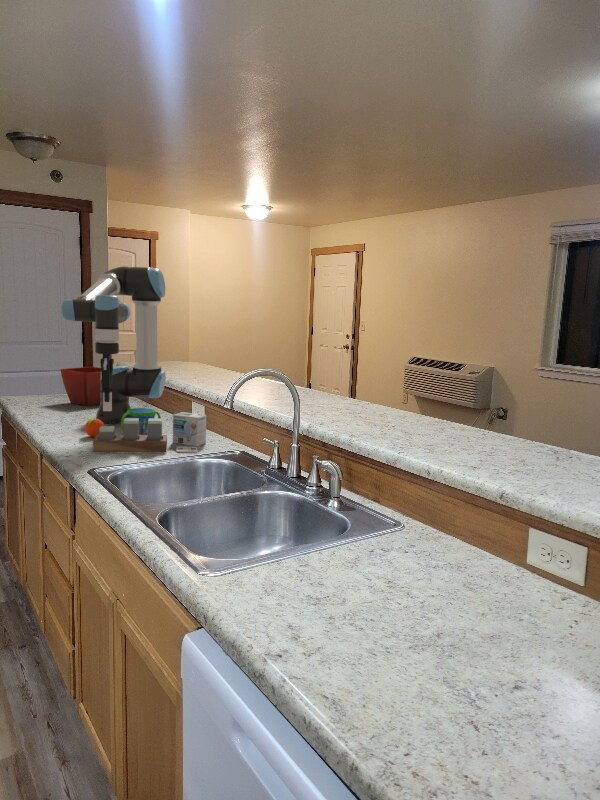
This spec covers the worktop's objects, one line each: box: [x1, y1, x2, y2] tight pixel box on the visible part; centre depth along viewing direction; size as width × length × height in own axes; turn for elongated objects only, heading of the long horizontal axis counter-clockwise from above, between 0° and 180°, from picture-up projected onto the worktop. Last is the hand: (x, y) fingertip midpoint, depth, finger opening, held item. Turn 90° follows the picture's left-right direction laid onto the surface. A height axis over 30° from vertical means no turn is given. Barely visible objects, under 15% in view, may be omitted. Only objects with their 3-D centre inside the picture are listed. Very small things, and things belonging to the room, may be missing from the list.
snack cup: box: [120, 407, 162, 435], centre depth 228 cm, size 16×10×10 cm
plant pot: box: [60, 366, 101, 406], centre depth 294 cm, size 19×19×17 cm
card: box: [176, 446, 198, 454], centre depth 210 cm, size 6×7×1 cm
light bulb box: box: [172, 411, 207, 447], centre depth 221 cm, size 11×7×11 cm, turn 70°
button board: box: [92, 434, 168, 453], centre depth 208 cm, size 10×24×4 cm, turn 101°
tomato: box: [84, 417, 105, 438], centre depth 223 cm, size 8×7×7 cm
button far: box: [148, 417, 163, 440], centre depth 209 cm, size 5×5×7 cm
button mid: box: [123, 418, 139, 440], centre depth 207 cm, size 5×5×7 cm
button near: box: [99, 425, 116, 439], centre depth 206 cm, size 5×5×7 cm
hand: (107, 410), depth 205 cm, fingers closed
